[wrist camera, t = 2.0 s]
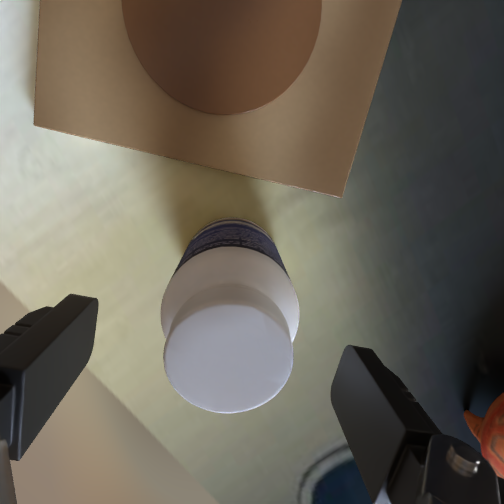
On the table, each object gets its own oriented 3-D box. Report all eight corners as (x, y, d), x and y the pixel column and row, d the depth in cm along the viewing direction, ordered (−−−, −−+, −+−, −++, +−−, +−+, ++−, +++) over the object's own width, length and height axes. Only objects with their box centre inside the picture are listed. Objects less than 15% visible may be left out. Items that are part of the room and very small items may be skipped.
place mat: (429, -107, 15) (443, -127, 14) (337, 197, 18) (344, 199, 17) (63, -237, 13) (48, -272, 12) (41, 126, 17) (29, 124, 16)
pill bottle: (171, 235, 19) (105, 313, 9) (260, 202, 18) (286, 249, 9) (206, 315, 20) (181, 453, 11) (289, 286, 20) (338, 402, 10)
